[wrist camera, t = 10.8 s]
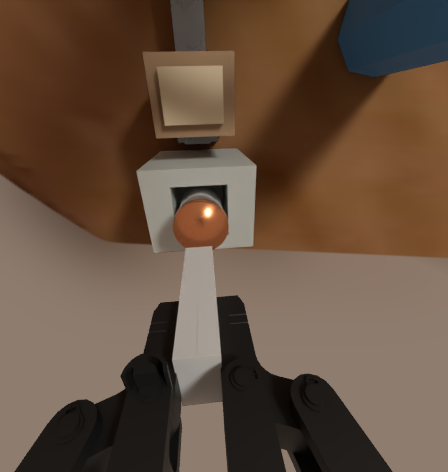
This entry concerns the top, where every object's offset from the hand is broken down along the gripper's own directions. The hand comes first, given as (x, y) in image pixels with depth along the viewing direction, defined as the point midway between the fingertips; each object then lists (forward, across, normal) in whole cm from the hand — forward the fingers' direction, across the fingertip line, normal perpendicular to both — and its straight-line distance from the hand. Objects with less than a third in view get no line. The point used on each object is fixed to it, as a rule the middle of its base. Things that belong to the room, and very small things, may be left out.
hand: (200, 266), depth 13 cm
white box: (+20, 0, 0) cm, 20 cm away
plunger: (+11, 0, 0) cm, 11 cm away
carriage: (+20, 0, +9) cm, 22 cm away
